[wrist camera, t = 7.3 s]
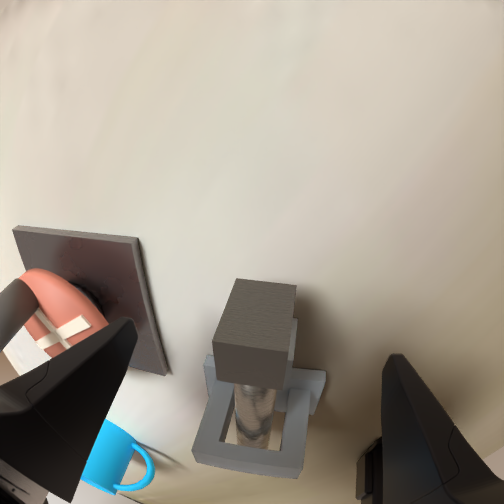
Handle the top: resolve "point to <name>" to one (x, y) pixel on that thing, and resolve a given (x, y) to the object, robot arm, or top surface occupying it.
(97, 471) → the mug
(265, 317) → the hook rod
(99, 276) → the wheel mount
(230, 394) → the eye bracket
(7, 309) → the handwheel
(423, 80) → the top surface
